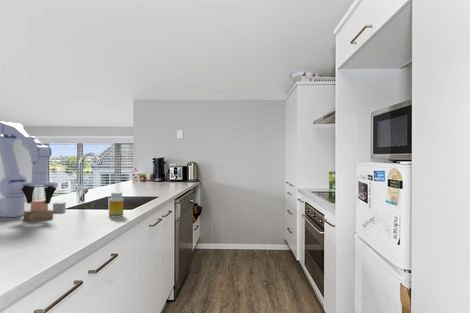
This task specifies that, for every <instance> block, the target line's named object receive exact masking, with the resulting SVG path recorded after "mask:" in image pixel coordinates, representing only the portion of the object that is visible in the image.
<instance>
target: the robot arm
mask: <svg viewBox="0 0 470 313" xmlns="http://www.w3.org/2000/svg"><path fill="white" fill-rule="evenodd" d="M18 140H20V141H21V145H22V146H23V147H24V149H26V150H27V151H28V155H29V157H30V161H31V164H32V165H31V181H28V179H27V177H26V176H24V175H22V174H21V173H20V170H19V166H18V162H17V157H16V154H15V151H14V146H13V144H14V143H16V142H17V141H18ZM51 156H52V148H51V147H50V146H49V145H46V144H45V145H44V144H43V143H42V142H40V141H39V140H38V139H37V137H36V136H32V135H29V134H28V133H27V132H26V131H25V128H24V126H23V124H21V123H16V122H9V121H8V122H7V121H0V158H1V161H2V167H3V171H4V175H5V177H3V178H2V179H1V180H0V194H1V195H2V197H0V217H6V218H18V217H21V216H23V213H24V211H25V199H26V203H27V204H31V201H33V196H34V191H35V188H43V189H44V190H43V191H44V194H45V199H44V200H45V202H46V204H48V205H49V204H50V203H51V200H52V198H53V196H54V193H55V192H56V190H57V188H58V186H59V185H58V184H59V183H58V182H50V181H48V174H49V173H48V171H49V170H48V168H49V159H50V157H51Z"/></svg>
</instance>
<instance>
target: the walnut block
mask: <svg viewBox="0 0 470 313" xmlns="http://www.w3.org/2000/svg"><path fill="white" fill-rule="evenodd" d="M22 216H23V219H22V220H23V221H28V222H31V221H32V222H33V223H34V222H35V221H36V222H39V221H40V222H41V221H42V222H43V221H47V220H52V219H54V213H53V209H48V210H46V211H43V212H31V209H29V210H24V213H23V215H22Z"/></svg>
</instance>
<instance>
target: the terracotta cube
mask: <svg viewBox="0 0 470 313" xmlns="http://www.w3.org/2000/svg"><path fill="white" fill-rule="evenodd" d="M30 210H31V212H43V211H46V210H49V204H46V202H45V199H35V200H32V201H31V203H30Z"/></svg>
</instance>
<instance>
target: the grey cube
mask: <svg viewBox="0 0 470 313" xmlns="http://www.w3.org/2000/svg"><path fill="white" fill-rule="evenodd" d="M66 203H67V202H66V201H64V202H63V201H59V202H58V201H56V202H54V203H53V204H52V210H53V214H55V213H65V212H66Z"/></svg>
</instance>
